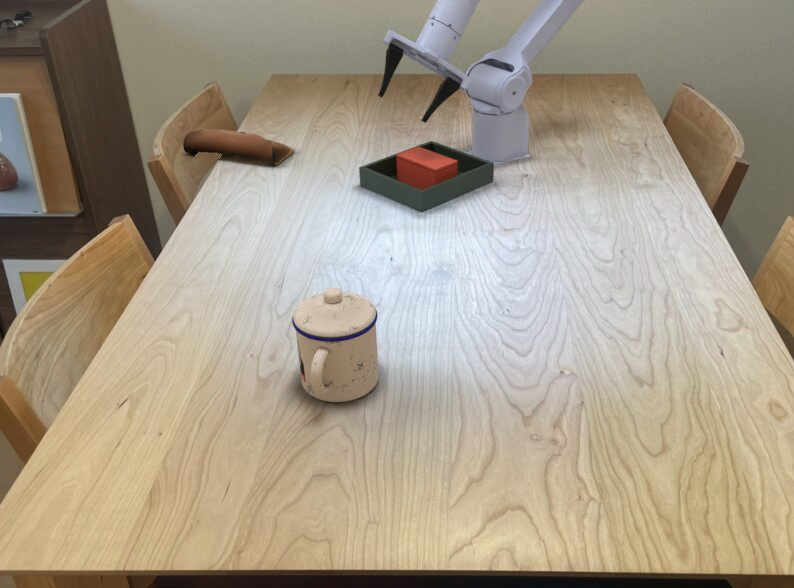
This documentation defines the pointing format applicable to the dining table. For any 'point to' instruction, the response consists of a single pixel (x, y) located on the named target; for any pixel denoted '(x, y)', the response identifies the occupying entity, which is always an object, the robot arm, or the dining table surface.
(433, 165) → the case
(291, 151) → the sunglasses case
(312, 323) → the teacup with lid
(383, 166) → the tote
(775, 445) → the dining table surface
